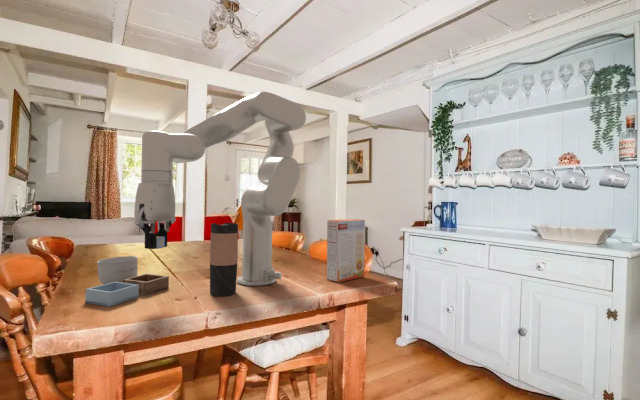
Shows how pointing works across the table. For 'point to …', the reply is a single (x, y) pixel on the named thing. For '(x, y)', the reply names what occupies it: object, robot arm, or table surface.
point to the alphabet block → (160, 242)
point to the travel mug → (223, 259)
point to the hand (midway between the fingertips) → (156, 246)
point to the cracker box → (345, 249)
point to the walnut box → (149, 283)
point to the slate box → (111, 293)
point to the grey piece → (117, 269)
